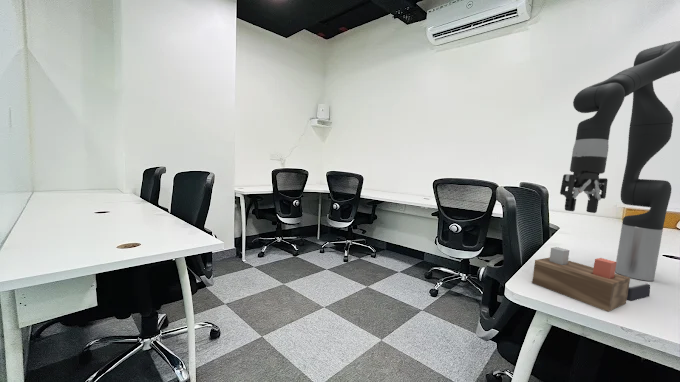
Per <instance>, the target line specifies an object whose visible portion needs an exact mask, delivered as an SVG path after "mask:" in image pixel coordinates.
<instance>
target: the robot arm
mask: <svg viewBox="0 0 680 382" xmlns="http://www.w3.org/2000/svg"><path fill="white" fill-rule="evenodd" d="M678 72H680V40H678V41H676V40H675V41H672V42H668V43H664V44H661V45H657V46H653V47H649V48H646V49H643V50H640V51H639V52H638V53H637V54H636V56H635V58H634V61H633V66H630V67H628V68H625V69H624V70H622V71H621V70H620V71H619V72H617V73H616V74H614V75H613V76H610V77H608V79H604V80H603V81H600V82H598V83H594V84H592V85H590V86H587V87H585V88H583V89H581V90H580V91H578V93H577V94H575V96H574V98H573V101H572V106H573V108H574V109H575V110H576V111H577V112H578V113H581V114H589V113H590V114H591V113H595V114H594V115H593V116H592V117H590V118H586V119H584V120H582V121H580V122H579V123H578V124H577V128H576V135H575V141H574V144H573V149H572V151H571V152H572V155H571V160H570V161H571V162H570V167H569V171H570V173H569V174H568V173H566V174H563V176H562V182H561V187H560V192H559V194H560V195H562V196H564V198H565V200H564V202H565V203H564V211H566V212H567V211H568V212H574V211H575V210H576V203H577V197H578V196H579V194H581V193H583V192H584V194H586V196H587V198H588V199H587V204H586V213H591V214H596V213H597V212H598V206H599V201H601V199H605V198H606V197H607V189H608V188H607V187H608V180H609V179H608V178H606V177H605V178H602V177H600V175H601V174H604V173H605V172H606V166H607V161H608V155H609V140H610V134H611V127H612V124H613V123H614V120H615V118H616V116H617V114H618V112H619V111H620V109H621V107H622V105H623V102H624V100H625V98H626V97H628V96H630V95H631V94H632V93H633V94H632V107H631V108H632V109H631V115H630V122H629V129H628V143H627V152H626V153H627V155H626V156H627V157H626V164H625V169H624V174H623V179H622V183H621V187H620V188H621V189H620V201H621V202H622V204H624V205H627V206H632V207H633V206H636V207H643V208H649V210H648V211H647V212H643V213H640V214H635V215H634V214H632V215H625V216H623V218H622V221H621V222H622V224H621V229H620V236H619V240H618V241H619V243H618V249H617V253H616V254H617V255H616V260H615V262H617V263H616V269H615V274H618V275H622V276H626V277H629V278H630V279H634V280H638V281H645V282H646V281H649V282H654V280H655V275H656V270H657V266H658V259H659V254H660V247H661V243H662V236H663V230H664V225H665V220H666V215H667V210H668V206H669V204H670V203H669V202H670V199H671V195H672V185H671V183H670V181H668V180H664V179H647V178H646V179H645V178H643V179H642V178H641V179H640V174H641V172H642V170H643V168H644V167H645V165H646V164H647V163H648V162H649V161H650V160H652V158H653V157H654V156H655V155H657V154H658V153H659V152H660V151H662V149H663V148H664V147H665V146H666V145H667V144H669V141H670V140H671V139H672V132H673V131H672V130H673V125H674V117H673V114H672V113H671V111H670V110H669V108H668V107H667V106H666V105H665V104H664V103H663V102H662V101H661V99H660V98H659V97H658V96H657V94H656V92H655V89H654V82H655V81H658V80H659V79H662V78H664V77H666V76H670V75H672V74H673V75H674V74H675V73H678ZM571 173H573V174H571ZM566 189H567V190H566ZM600 192H601V193H600Z"/></svg>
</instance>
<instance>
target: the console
mask: <svg viewBox="0 0 680 382" xmlns="http://www.w3.org/2000/svg"><path fill="white" fill-rule="evenodd" d="M549 260H550V256H549V257H544V258H539V259H534V266H533V273H532V280H531V283H532V284H535V285H537V286H540V287H542V288H545V289H548V290H550V291H553V292H556V293H558V294H561V295H563V296H566V297H569V298H571V299H574V300H577V301H579V302H582V303H584V304H587V305H590V306H593V307H595V308H598V309H601V310H603V311H606V312H610V311H614V310H615V309H617V308H619V307H621V306H623V305H626V304H627V301H628V300H627V295H628V289H629V283H630V279H631V278H630V277H627V276H624V275H621V274H618V273H615V275H614V278H612V279H608V278H604V277H601V276H598V275H594V274H593V269H594V266H591V265H590V266H589V265H585V264H582V263H578V262H575V261H571V260H568V264H566V265H560V264H557V263H554V262H550V261H549Z"/></svg>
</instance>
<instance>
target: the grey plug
mask: <svg viewBox="0 0 680 382" xmlns="http://www.w3.org/2000/svg"><path fill="white" fill-rule="evenodd" d="M569 256H570V250H569V249H566V248H563V247H562V248H561V247H559V246H554V247H550V254H549V257H550V260H549V261H550V262H554V263H557V264H560V265H566V264H568V261H569V258H570V257H569Z"/></svg>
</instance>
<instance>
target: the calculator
mask: <svg viewBox="0 0 680 382" xmlns="http://www.w3.org/2000/svg"><path fill="white" fill-rule="evenodd" d="M650 293H651V284H650V283H649V284H648V282H646V281H642V280H638V279H635V278H630V283H629V289H628V295H627V301H628V302H633V301H637V299H638V300H640V299H645V298H648V297H650V295H651V294H650Z"/></svg>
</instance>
